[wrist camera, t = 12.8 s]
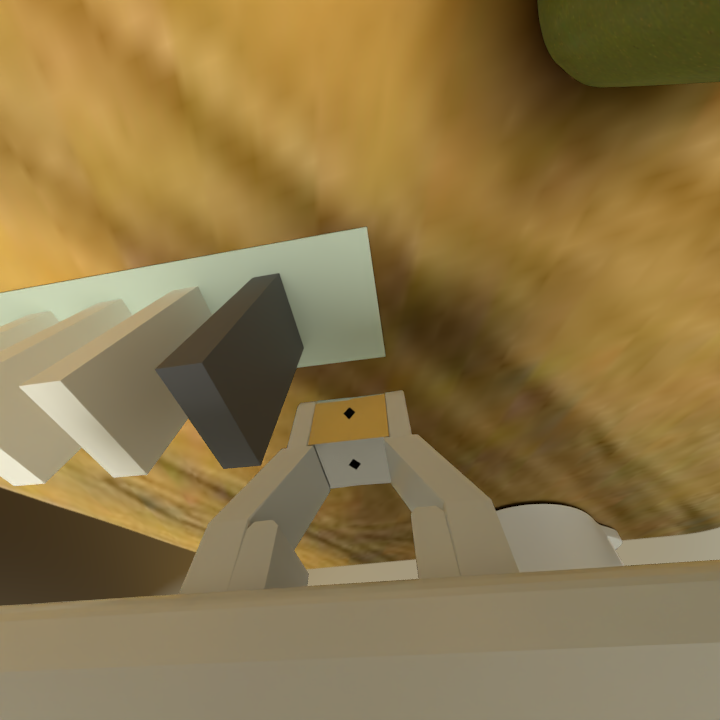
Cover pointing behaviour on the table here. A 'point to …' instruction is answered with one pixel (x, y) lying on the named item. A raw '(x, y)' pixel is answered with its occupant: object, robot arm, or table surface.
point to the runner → (230, 273)
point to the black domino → (238, 371)
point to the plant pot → (633, 40)
